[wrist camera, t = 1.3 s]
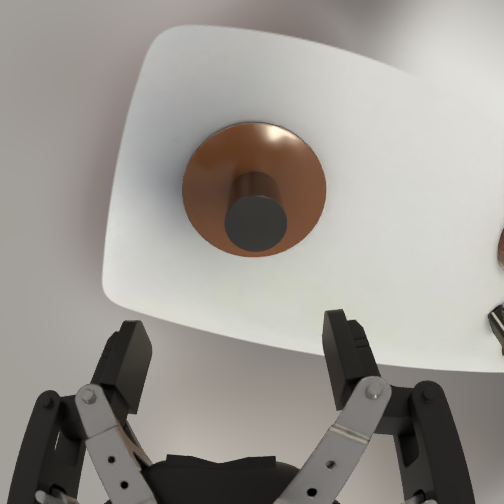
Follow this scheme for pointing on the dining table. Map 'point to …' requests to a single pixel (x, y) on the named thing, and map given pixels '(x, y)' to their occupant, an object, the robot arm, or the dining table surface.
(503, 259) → the crock
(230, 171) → the crock lid
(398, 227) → the dining table surface
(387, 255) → the dining table surface
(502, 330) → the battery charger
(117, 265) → the dining table surface
